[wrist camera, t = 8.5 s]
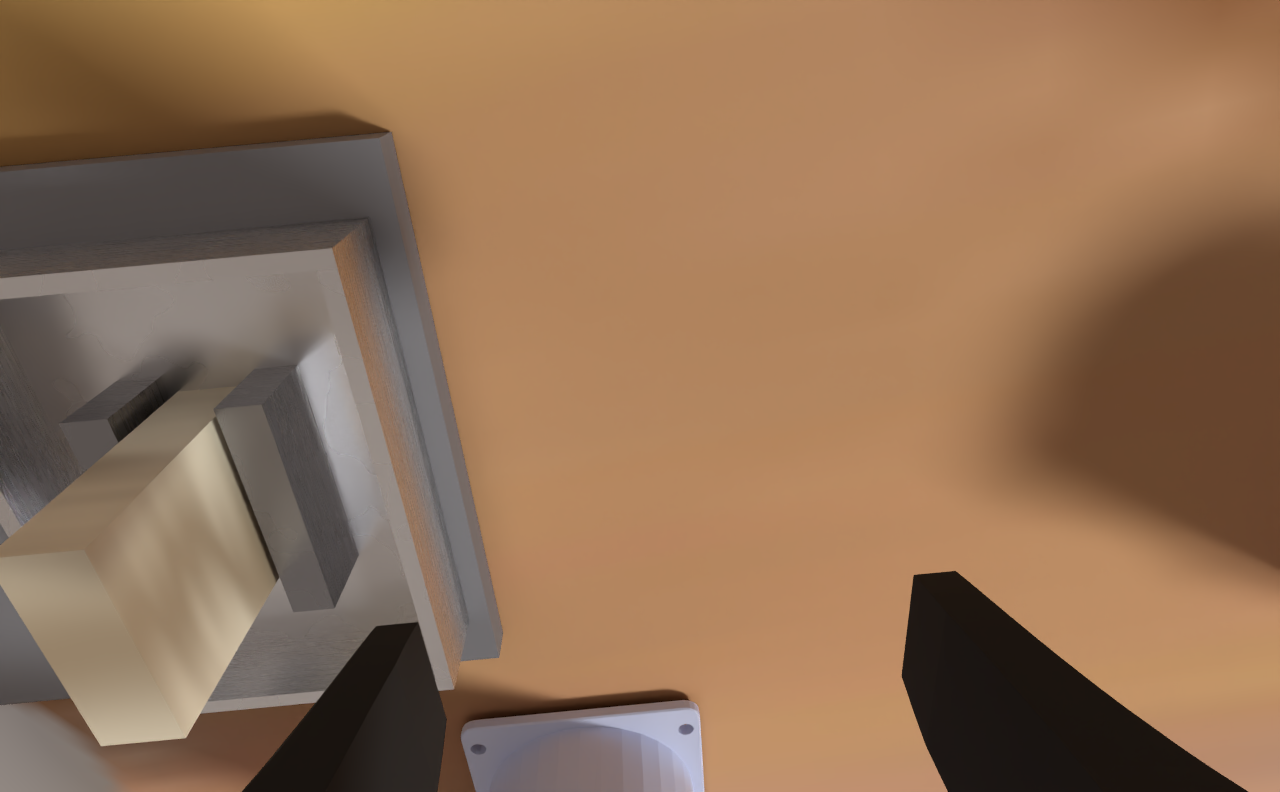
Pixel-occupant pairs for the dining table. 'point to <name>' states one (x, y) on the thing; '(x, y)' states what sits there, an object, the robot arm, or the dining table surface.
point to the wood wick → (144, 574)
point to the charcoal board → (247, 198)
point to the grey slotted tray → (246, 424)
